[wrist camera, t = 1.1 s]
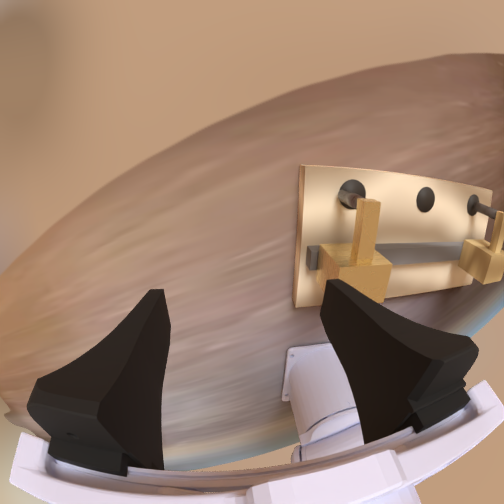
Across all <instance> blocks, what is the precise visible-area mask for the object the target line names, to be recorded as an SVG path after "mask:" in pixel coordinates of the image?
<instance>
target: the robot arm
mask: <svg viewBox="0 0 504 504" xmlns="http://www.w3.org/2000/svg"><path fill="white" fill-rule="evenodd" d="M320 317H321V320H322V323H323V326H324V329H325V332H326V334H327V336H328V338H329V340H330V342H331V343H325V344H318V345H310V346H301V347H292V348H289V349H288V351H287V359H286V367H285V375H284V383H283V391H282V401H290V403H291V407H292V411H293V415H294V419H295V423H296V427H297V431H298V434H299V439H300V443H301V445H299V446H296V447H295V448H294V451H293V453H292V455H291V464H285V465H279V466H272V467H265V468H257V469H247V470H235V471H214V472H187V471H166V470H164V462H163V451H162V432H161V402H162V387H163V380H164V375H165V369H166V363H167V357H168V352H169V346H170V331H171V324H170V319H169V314H168V309H167V305H166V300H165V294H164V289H150V290H149V291H148V292H147V293H146V295H145V296H144V297H143V298H142V299H141V300H140V302H139V303H138V304H137V305H136V306H135V307H134V309H133V310H132V311H131V312H130V313H129V314H128V315H127V316H126V318H125V319H124V320H123V321H122V322H121V323H120V324H119V325H118V326H117V327H116V328H115V329H114V330H113V331H112V332H111V333H110V334H109V335H108V336H106V337H105V338H104V339H103V340H102V341H101V342H99V343H98V344H97V345H96V346H94V347H93V348H92V349H90V350H89V351H87V352H86V353H85V354H83V355H82V356H80V357H79V358H77V359H76V360H74V361H73V362H71V363H69V364H67V365H66V366H64V367H62V368H60V369H58V370H56V371H54V372H52V373H50V374H48V375H45V376H43V377H41V378H38V379H37V381H36V384H35V386H34V388H33V391H32V393H31V396H30V398H29V401H28V403H27V410H28V412H29V414H30V416H31V417H32V418H33V419H34V420H35V421H36V422H37V423H38V424H39V425H40V426H41V427H42V428H43V429H44V430H45V431H46V432H47V433H48V434H49V435H50V436H51V441H50V443H49V442H47V441H45V440H44V439H41V438H39V437H36V436H33V435H31V434H28V433H25V432H22V433H21V436H20V439H19V443H18V446H17V450H16V454H15V457H14V461H13V466H12V470H11V475H10V480H9V481H10V483H11V484H13V485H15V486H17V487H18V488H20V489H22V490H23V491H25V492H27V493H29V494H31V495H33V496H35V497H37V498H39V499H41V500H43V501H45V502H47V503H49V504H421V501H420V499H419V496H418V494H417V492H416V489H415V487H414V486H415V485H416V484H419V483H420V482H422V481H424V480H425V479H427V478H429V477H431V476H432V475H434V474H436V473H437V472H439V471H440V470H442V469H443V468H445V467H447V466H448V465H450V463H453V462H454V461H455V460H457V459H458V458H460V457H461V456H462V455H464V454H465V453H467V451H469V450H471V449H472V448H473V447H474V446H476V445H477V444H478V443H479V442H481V441H482V440H483V439H484V438H485V437H486V436H488V435H489V434H490V433H491V432H492V431H493V430H494V429H495V428H496V427H497V426H499V424H501V423H502V422H503V421H504V406H503V405H502V403H501V401H500V400H499V399H498V397H497V396H496V394H495V393H494V391H493V390H492V389H491V387H490V386H489V384H488V383H487V382H486V380H482V381H481V382H479V383H478V384H476V385H475V386H473V387H472V388H470V389H469V390H468V391H467V392H466V391H465V390H464V388H463V387H465V386H466V382H465V381H464V380H463V378H464V376H465V375H466V374H467V372H468V371H469V370H470V368H471V367H472V365H473V363H474V362H475V360H476V358H477V356H478V352H479V349H478V347H477V346H476V344H474V342H473V341H472V340H471V339H470V338H469V337H468V336H463V335H457V334H451V333H447V332H443V331H439V330H436V329H433V328H429V327H426V326H424V325H421V324H418V323H416V322H413V321H411V320H409V319H407V318H404V317H402V316H400V315H398V314H396V313H394V312H392V311H390V310H389V309H387V308H385V307H383V306H382V305H380V304H378V303H377V302H375V301H374V300H372V299H370V298H369V297H367V296H366V295H364V294H363V293H361V292H360V291H358V290H357V289H355V288H353V287H352V286H350V285H349V284H347V283H346V282H344V281H342V280H340V279H329V280H327V281H326V286H325V292H324V297H323V302H322V307H321V312H320ZM292 354H293V355H292ZM204 492H217V493H204Z"/></svg>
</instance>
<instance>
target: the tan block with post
mask: <svg viewBox="0 0 504 504" xmlns="http://www.w3.org/2000/svg"><path fill="white" fill-rule="evenodd" d="M338 199H339V200H340V201H342V202H343V203H345V204H347V205H349V206H350V207H352V208H354V209H356V218H355V227H354V235H353V243H337V244H320V247H319V257H318V266H317V275H316V281H317V283H318V284H319V286H320V287H321V289H322V291H323V292H325V286H326V281H327V280H329V279H340V280H342V281H344V282H346V283H347V284H349V285H350V286H352V287H353V288H355V289H357V290H358V291H360V292H361V293H363V294H364V295H366V296H367V297H369V298H370V299H372V300H374V301H375V302H377V303H382V302H384V298H385V294H386V290H387V286H388V282H389V278H390V274H391V269H392V265H393V264H392V263H391V262H390V261H388V260H387V259H386V258H385V257H384V256H382V255H381V254H380V253H379V252H377V251H376V250H375V243H376V237H377V230H378V223H379V216H380V208H381V202H379V201H377V200H375V199H367V198H364V197H362V196H360V195H358V194H356V193H353V192H351V191H349V190H347V189H341V190H340V191H339V192H338Z"/></svg>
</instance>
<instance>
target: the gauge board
mask: <svg viewBox="0 0 504 504" xmlns="http://www.w3.org/2000/svg"><path fill="white" fill-rule="evenodd" d="M341 189H347V190H349V191H351V192H353V193H356V194H358V195H360V196H362V197H364V198H367V199H375V200H377V201H379V202H381V208H380V216H379V223H378V230H377V237H376V243H375V250H376V251H377V252H379V253H380V254H381V255H382V256H384V257H385V258H386V259H387V260H388V261H390V262H391V263H392V264H393V265H392V269H391V274H390V278H389V282H388V286H387V290H386V294H385V298H390V297H397V296H404V295H411V294H418V293H424V292H430V291H436V290H442V289H447V288H453V287H458V286H464V285H469V284H471V283H472V280H473V277H474V278H475V279H476V280H478V281H479V282H480V283H482V284H487V283H492V282H496V281H500V280H501V278H502V275H503V272H504V251H503V250H501V248H502V244H503V240H504V212H501V211H498V210H496V209H493V208H491V207H490V205H491V199H492V192H493V191H491V190H488V189H485V188H481V187H477V186H472V185H468V184H463V183H458V182H453V181H448V180H442V179H436V178H430V177H424V176H418V175H411V174H404V173H396V172H388V171H380V170H370V169H360V168H348V167H335V166H318V165H300V176H299V201H298V221H297V239H296V254H295V268H294V281H293V293H292V300H293V302H294V305H295V307H308V306H320V305H322V302H323V297H324V292H323V291H322V289H321V287H320V286H319V284H318V283H317V281H316V275H317V266H318V257H319V247H320V244H337V243H353V235H354V227H355V218H356V209H354V208H352V207H350V206H349V205H347V204H345V203H343V202H342V201H340V200H339V199H338V192H339V191H340V190H341ZM488 217H490V218H492V219H495V224H494V229H493V233H492V238H491V242H490V243H489V242H487V241H485V240H484V236H485V232H486V227H487V222H488Z"/></svg>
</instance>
